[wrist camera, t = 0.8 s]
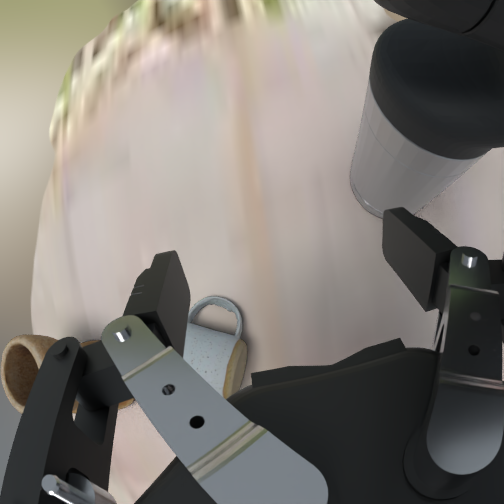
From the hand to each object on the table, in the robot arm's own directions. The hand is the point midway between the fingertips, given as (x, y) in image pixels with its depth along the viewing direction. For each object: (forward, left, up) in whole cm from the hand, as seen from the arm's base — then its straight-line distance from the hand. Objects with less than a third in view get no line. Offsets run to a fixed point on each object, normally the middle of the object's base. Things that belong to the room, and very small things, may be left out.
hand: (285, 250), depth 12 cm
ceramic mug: (+13, -1, -22) cm, 25 cm away
